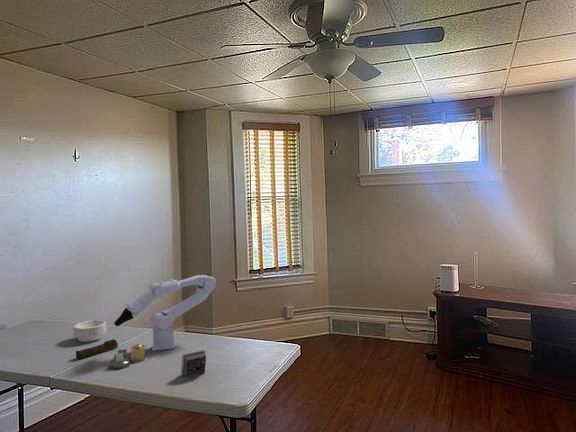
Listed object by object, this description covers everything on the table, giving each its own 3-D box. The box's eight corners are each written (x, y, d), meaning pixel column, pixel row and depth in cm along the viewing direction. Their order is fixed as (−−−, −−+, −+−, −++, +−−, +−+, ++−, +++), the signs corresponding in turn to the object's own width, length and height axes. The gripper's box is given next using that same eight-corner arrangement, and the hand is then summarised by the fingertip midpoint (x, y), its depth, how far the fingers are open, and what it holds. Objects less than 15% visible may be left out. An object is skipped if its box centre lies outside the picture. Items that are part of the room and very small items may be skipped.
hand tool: (79, 360, 189) (78, 350, 188) (75, 358, 191) (75, 348, 191) (120, 349, 203) (120, 339, 203) (116, 347, 206) (116, 337, 205)
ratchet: (129, 368, 178) (128, 356, 178) (109, 370, 176) (109, 358, 176) (131, 352, 198) (131, 341, 198) (113, 354, 195) (113, 343, 195)
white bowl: (66, 342, 215) (66, 326, 214) (91, 333, 229) (90, 318, 228) (89, 345, 209) (88, 329, 209) (113, 336, 223) (112, 320, 223)
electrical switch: (203, 369, 175) (203, 347, 174) (208, 374, 171) (208, 352, 170) (180, 374, 170) (180, 352, 169) (185, 380, 166) (185, 357, 165)
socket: (145, 355, 192) (144, 342, 192) (144, 360, 187) (144, 346, 187) (131, 357, 191) (131, 344, 190) (131, 361, 185) (130, 348, 185)
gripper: (133, 298, 203) (109, 318, 197) (137, 295, 191) (110, 316, 184) (143, 310, 204) (119, 330, 197) (147, 307, 191) (121, 328, 184)
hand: (115, 324), depth 190 cm, fingers open, 7 cm apart
